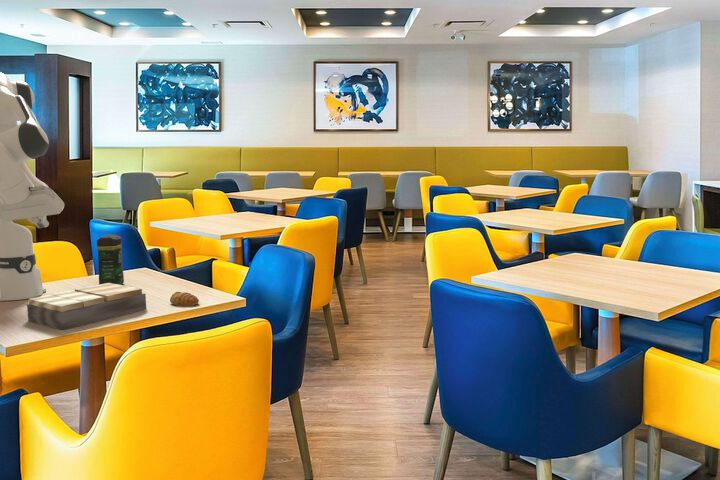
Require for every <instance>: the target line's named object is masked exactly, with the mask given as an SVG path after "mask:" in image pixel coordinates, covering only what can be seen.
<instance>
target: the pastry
mask: <svg viewBox="0 0 720 480" xmlns="http://www.w3.org/2000/svg"><path fill="white" fill-rule="evenodd" d="M169 298H170V299H169V302H170V304H172V305H175V306H176V307H177V306H179V307H193V306H195V305H199V302H200V300H199V298H198V297H197V296H196V295H194V294H192V293H191V292H185V291H183V292H182V291H181V292H180V291H175V292H174V293H172V295H171V296H170V297H169Z"/></svg>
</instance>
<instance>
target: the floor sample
mask: <svg viewBox="0 0 720 480" xmlns="http://www.w3.org/2000/svg"><path fill="white" fill-rule="evenodd" d="M145 310H147V295H146V292H142V294H139V295H135V296H130V297H125V298H121V299H116V300H111V301H104V297H101V296H96V295H91V294H86V293H81V292H77V291H75V290H67V291H61V292H55V293H51V294H47V295H40V296H36V297H32V298H28V304H26V312H27V321H28V322H30V323H34V324H39V325H42V326H46V327H49V328H52V329H57V330H59V331H65V330H68V329H73V328H76V327H80V326H85V325H89V324H92V323H97V322H101V321H105V320H109V319H112V318H117V317H120V316H126V315H129V314H133V313H137V312H141V311H145Z"/></svg>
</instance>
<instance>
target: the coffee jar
mask: <svg viewBox="0 0 720 480" xmlns="http://www.w3.org/2000/svg"><path fill="white" fill-rule="evenodd" d="M122 247H123V245H122V237H121V236H120V235H118V234H106V235H104V236H101V237H99V238H97V239H96V249H97V260H98V261H97V262H98V263H97V265H98V266H97V267H98V285H100V284H105V283H112V284H118V285H123V284H124V283H125V277H124V266H123V265H124V264H123V249H122Z"/></svg>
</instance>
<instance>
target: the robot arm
mask: <svg viewBox="0 0 720 480" xmlns="http://www.w3.org/2000/svg"><path fill="white" fill-rule="evenodd" d="M34 103H35V94H34V92H33V90H32V88H31V86H30V84H28V83H27V82H25V81H20V80H16V81H12V80H10V79H9V78H8V76H6V75H5V73H2V72H1V71H0V302H2V301H3V302H4V301H19V300H25V299H31V298H36V297H40V296H42V295H43V294H44V293H45V292H47V288H46V287H43V281H42V277H41V276H42V275H41V274H42V273H41V270H40V268H38V266H37V265H36V264H37V257H36V254H35V252H34V242H33V241H34V240H33V234H32V231H31V230H30V228H28V227H26V226H24V225H21V224H18V223H15V222H13V221H18V220H25V219H26V220H27V221H28V222H29V223H32V224H33V225H35V226H36V228H38V229H42V228H47V227H49V225H50V222H49V221H48V219H47V216H53V215H54V216H55V215H59V214H61V212H62V211H63V210H64V208H65V202H64V201H63V200H62V198H60V197H59V195H58V194H57V193H56V192H55V191H54V190H53V189H52V188H51V187H49V186H48V184H47V183H45V182H43V181H41V179H39V178H38V177H36V176H35V175H34V174H33V172H32V171H31V169H30V168H29V167H28V164H27V163H26V162H27V161H29V160H31V159H36V158H39V157H42V156H44V155H46V154H47V151H48V150H49V147H50V142H49V137H48V135H47V133H46V132H45V131H44V129H43V128H42V127H41V124H40V123H39V121H38V120H37V118H36V115H35V113H34V112H33V106H34V105H35V104H34ZM19 121H20V123H18V122H19Z"/></svg>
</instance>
